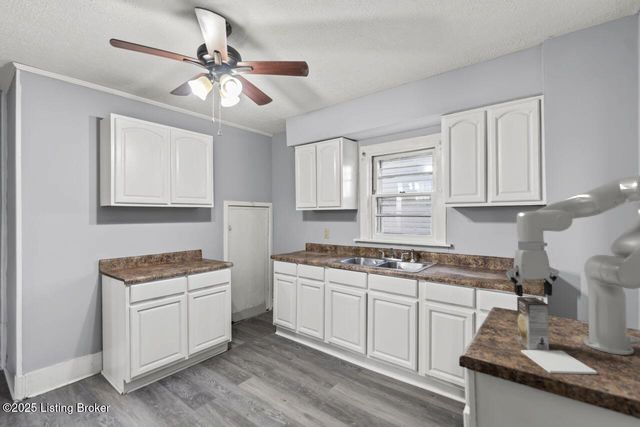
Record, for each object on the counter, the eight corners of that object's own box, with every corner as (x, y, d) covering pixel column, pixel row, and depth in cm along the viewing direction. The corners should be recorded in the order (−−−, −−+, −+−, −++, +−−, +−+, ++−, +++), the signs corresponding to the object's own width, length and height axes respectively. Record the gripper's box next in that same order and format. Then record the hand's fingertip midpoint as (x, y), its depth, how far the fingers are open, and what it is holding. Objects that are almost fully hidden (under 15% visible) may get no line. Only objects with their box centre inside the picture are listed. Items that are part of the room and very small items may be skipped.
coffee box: (516, 340, 112) (516, 296, 112) (536, 341, 111) (535, 296, 111) (528, 350, 103) (528, 303, 103) (550, 352, 102) (549, 304, 102)
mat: (561, 352, 102) (561, 350, 102) (597, 374, 88) (597, 372, 88) (521, 351, 103) (521, 349, 103) (549, 373, 89) (549, 370, 89)
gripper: (549, 244, 111) (551, 291, 110) (499, 246, 112) (502, 293, 112) (564, 246, 103) (567, 297, 103) (511, 248, 104) (514, 298, 104)
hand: (533, 295), depth 107 cm, fingers open, 9 cm apart
